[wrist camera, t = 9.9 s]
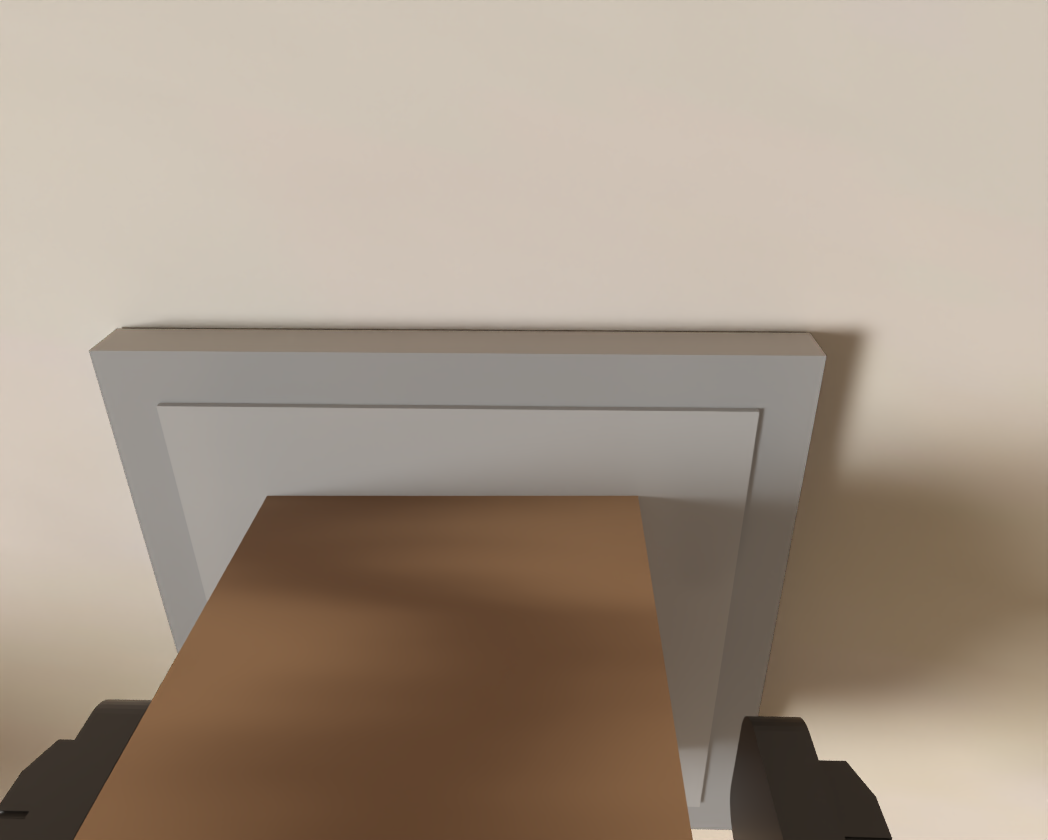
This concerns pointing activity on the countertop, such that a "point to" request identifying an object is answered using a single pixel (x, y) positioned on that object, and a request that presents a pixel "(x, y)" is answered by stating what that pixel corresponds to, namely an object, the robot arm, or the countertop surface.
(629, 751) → the walnut cube
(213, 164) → the countertop surface
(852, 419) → the countertop surface
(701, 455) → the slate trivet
